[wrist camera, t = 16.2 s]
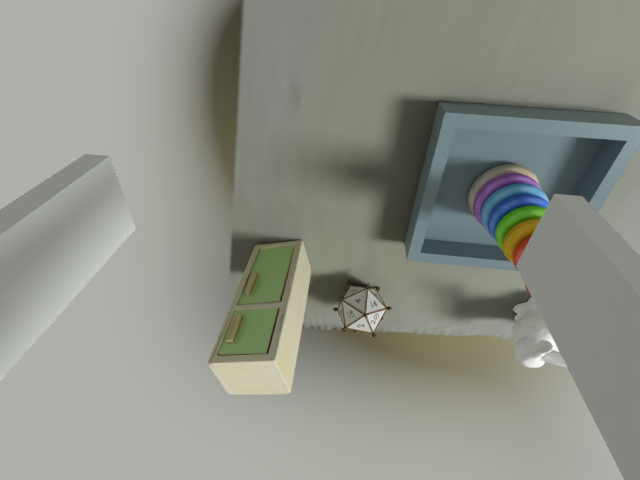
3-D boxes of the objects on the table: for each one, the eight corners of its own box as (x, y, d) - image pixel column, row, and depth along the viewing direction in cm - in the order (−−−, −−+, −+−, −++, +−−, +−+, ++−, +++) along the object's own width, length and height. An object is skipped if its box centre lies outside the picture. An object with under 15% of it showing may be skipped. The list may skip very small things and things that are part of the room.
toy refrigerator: (302, 234, 52) (273, 358, 35) (313, 270, 56) (291, 395, 39) (253, 240, 53) (202, 360, 37) (266, 274, 58) (227, 396, 41)
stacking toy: (545, 196, 43) (639, 314, 28) (482, 226, 47) (536, 345, 32) (520, 148, 40) (612, 254, 25) (455, 185, 43) (501, 296, 29)
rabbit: (498, 325, 59) (524, 391, 50) (504, 286, 54) (534, 353, 44) (578, 321, 57) (620, 390, 47) (593, 280, 51) (644, 350, 42)
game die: (359, 266, 59) (368, 273, 49) (393, 302, 60) (408, 316, 50) (321, 302, 59) (322, 316, 49) (355, 337, 60) (363, 359, 50)
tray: (438, 100, 38) (445, 112, 35) (627, 114, 37) (652, 127, 34) (404, 242, 50) (406, 260, 47) (545, 255, 49) (557, 274, 46)
